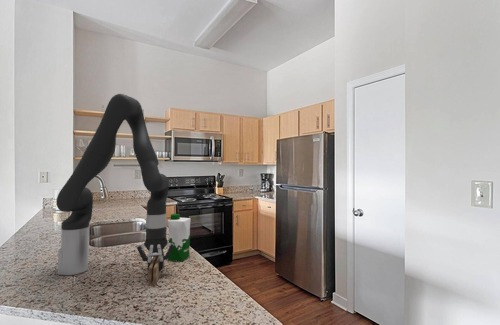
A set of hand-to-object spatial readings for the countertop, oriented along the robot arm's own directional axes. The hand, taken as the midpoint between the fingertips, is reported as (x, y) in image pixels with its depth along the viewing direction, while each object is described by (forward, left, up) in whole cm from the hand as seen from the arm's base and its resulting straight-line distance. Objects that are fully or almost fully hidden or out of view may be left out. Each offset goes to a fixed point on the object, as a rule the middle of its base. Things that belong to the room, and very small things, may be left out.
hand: (155, 270), depth 98 cm
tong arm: (0, -1, -2) cm, 2 cm away
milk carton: (+8, +18, -2) cm, 20 cm away
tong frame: (0, +1, -2) cm, 2 cm away
